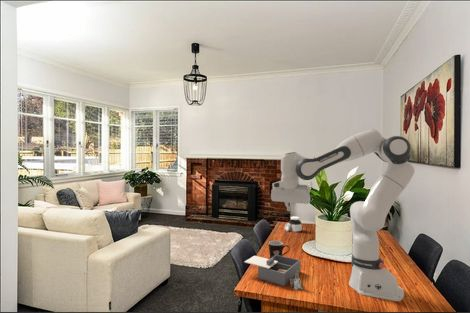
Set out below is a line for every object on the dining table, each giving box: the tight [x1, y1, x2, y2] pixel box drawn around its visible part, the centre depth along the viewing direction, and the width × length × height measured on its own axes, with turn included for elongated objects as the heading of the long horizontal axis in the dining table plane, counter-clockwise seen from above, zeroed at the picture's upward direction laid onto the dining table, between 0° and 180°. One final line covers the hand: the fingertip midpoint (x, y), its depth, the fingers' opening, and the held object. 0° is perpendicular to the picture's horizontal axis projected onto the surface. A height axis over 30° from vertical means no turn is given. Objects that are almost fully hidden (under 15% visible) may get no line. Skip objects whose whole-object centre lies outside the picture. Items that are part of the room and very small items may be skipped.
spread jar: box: [283, 215, 303, 233], centre depth 219 cm, size 12×11×12 cm
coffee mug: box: [268, 240, 290, 259], centre depth 159 cm, size 12×9×10 cm
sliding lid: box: [243, 255, 278, 269], centre depth 141 cm, size 14×10×2 cm
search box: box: [257, 255, 301, 287], centre depth 140 cm, size 14×20×6 cm
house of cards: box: [289, 270, 303, 291], centre depth 130 cm, size 9×9×8 cm
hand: (290, 211), depth 141 cm, fingers closed
